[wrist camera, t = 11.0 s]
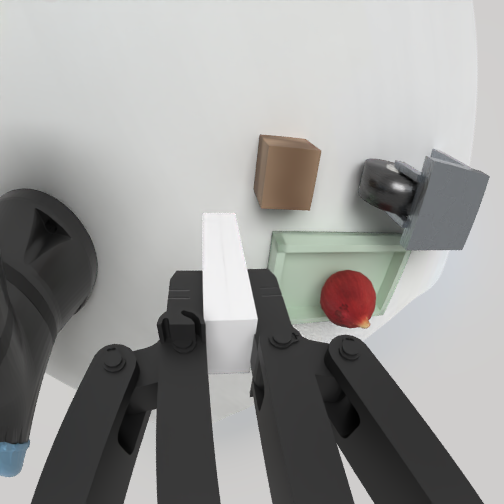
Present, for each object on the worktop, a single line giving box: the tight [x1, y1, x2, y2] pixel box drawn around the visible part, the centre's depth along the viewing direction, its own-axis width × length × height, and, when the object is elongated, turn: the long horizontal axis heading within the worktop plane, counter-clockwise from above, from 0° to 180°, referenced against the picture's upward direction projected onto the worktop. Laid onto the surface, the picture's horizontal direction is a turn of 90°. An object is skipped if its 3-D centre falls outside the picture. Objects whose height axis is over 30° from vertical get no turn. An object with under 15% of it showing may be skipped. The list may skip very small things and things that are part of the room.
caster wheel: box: [358, 149, 489, 250], centre depth 24 cm, size 11×8×8 cm
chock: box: [254, 135, 321, 210], centre depth 24 cm, size 4×5×4 cm
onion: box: [320, 270, 376, 329], centre depth 29 cm, size 6×6×8 cm
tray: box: [267, 231, 412, 324], centre depth 32 cm, size 16×11×2 cm
